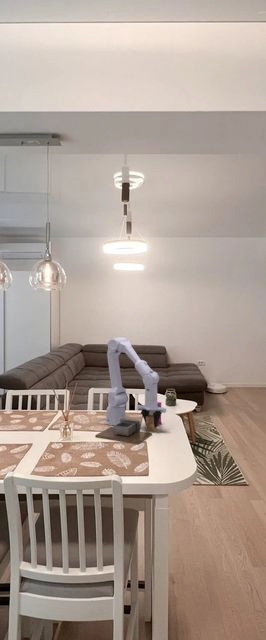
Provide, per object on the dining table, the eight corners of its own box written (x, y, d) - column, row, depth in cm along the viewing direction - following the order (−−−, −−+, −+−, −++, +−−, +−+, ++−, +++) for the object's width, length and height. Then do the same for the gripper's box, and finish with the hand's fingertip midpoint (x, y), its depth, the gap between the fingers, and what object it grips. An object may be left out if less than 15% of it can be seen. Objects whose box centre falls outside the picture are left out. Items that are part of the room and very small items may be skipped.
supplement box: (155, 427, 189) (155, 404, 188) (145, 425, 192) (145, 402, 192) (161, 424, 193) (161, 401, 193) (152, 422, 197) (151, 400, 197)
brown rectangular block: (146, 431, 183) (145, 416, 182) (149, 428, 186) (149, 414, 186) (153, 432, 181) (153, 417, 181) (157, 430, 184) (156, 415, 184)
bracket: (95, 437, 174) (95, 424, 174) (111, 428, 187) (110, 416, 187) (138, 444, 164) (138, 430, 164) (152, 435, 177) (151, 422, 177)
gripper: (134, 398, 183) (134, 426, 183) (161, 401, 176) (162, 430, 176) (140, 395, 189) (140, 422, 189) (167, 397, 182) (168, 426, 183)
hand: (151, 426), depth 183 cm, fingers closed on brown rectangular block, 4 cm apart
